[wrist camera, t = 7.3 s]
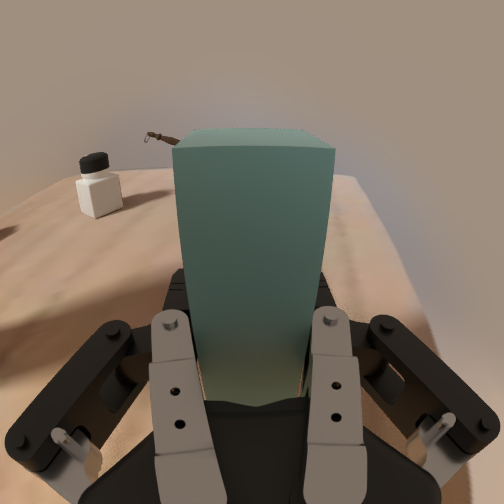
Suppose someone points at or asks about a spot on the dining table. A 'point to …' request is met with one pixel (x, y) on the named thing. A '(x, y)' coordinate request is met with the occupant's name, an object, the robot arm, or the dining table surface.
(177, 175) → the peg
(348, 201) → the dining table surface
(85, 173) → the medicine bottle
